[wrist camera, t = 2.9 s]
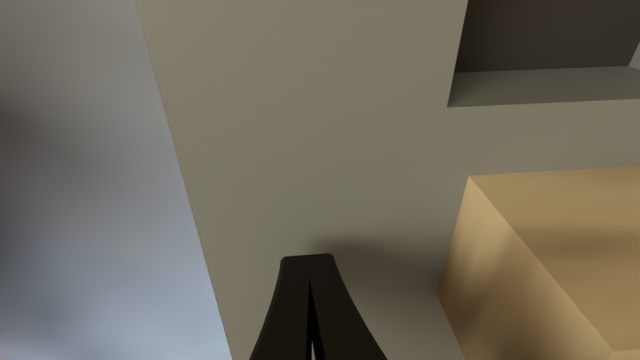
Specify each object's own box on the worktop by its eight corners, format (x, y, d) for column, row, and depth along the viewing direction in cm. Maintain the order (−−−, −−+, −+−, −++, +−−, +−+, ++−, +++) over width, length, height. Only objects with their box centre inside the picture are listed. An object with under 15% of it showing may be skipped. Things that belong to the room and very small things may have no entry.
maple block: (572, 284, 13) (715, 450, 8) (437, 295, 12) (516, 473, 8) (641, 165, 10) (902, 323, 6) (468, 175, 9) (614, 351, 5)
